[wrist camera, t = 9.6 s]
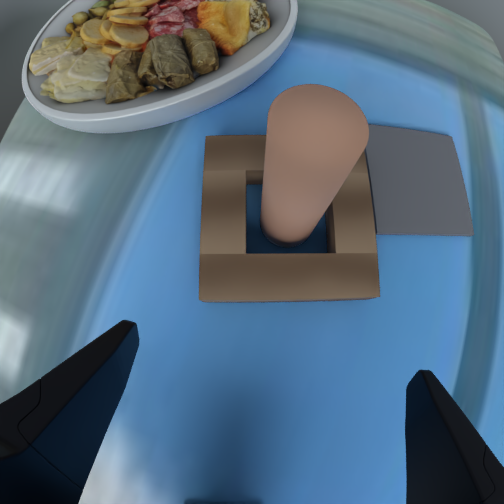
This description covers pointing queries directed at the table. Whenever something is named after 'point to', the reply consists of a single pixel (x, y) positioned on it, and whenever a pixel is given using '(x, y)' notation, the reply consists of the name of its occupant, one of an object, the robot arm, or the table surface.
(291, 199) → the dowel
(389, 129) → the mat
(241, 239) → the socket block
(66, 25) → the bowl
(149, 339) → the table surface
